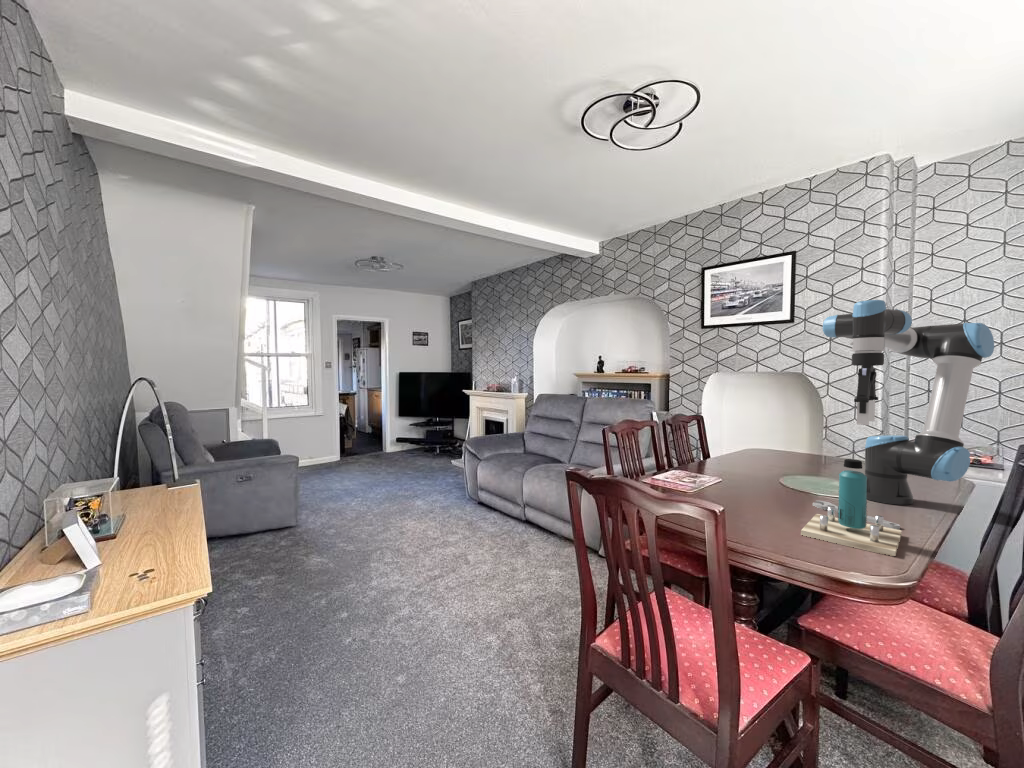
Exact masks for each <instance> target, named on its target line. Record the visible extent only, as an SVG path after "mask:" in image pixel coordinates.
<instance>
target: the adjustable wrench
mask: <svg viewBox="0 0 1024 768" xmlns="http://www.w3.org/2000/svg"><path fill="white" fill-rule="evenodd" d="M813 506H815V507H817V509H818V508H821V509H820V510H822V509H824V510H823V511H828V507H834V508H835V511H836V512H835V513H838V506H839V505H836V504H834V503H831V502H829V501H825V500H815V502H812V507H813ZM815 507H814V508H815ZM866 515H867V516H866V522H869V523H873V524H875V516H870V515H868V514H866ZM883 527H886V528H892V529H897V530H901V525H900V524H899V523H895V522H891V521H888V520H885V519H884V521H883Z"/></svg>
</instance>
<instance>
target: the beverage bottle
mask: <svg viewBox="0 0 1024 768" xmlns="http://www.w3.org/2000/svg"><path fill="white" fill-rule="evenodd" d="M843 467H844V468H848V469H856V470H858V469H859V470H860V469H863V461H862V460H859V459H855V458H854V459H851V458H845V459H844V462H843ZM856 470H842V471H841V472H839V474H838V476H839V477H838V480H839V481H838V490H837V492H838V501H837V502H838V505H837V506H838V512H837V518H838V522H839V524H841V525H843V526H846V527H850V528H856V529H864V528H865V527H866V524H867V521H866V516H867V515H868V514H867V512H868V510H867V506H868V499H867V497H866V495H867V477H866V476H865V473H863V472H862V471H856Z"/></svg>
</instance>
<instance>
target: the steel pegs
mask: <svg viewBox="0 0 1024 768" xmlns="http://www.w3.org/2000/svg"><path fill="white" fill-rule="evenodd" d="M835 517H836V512H835V508H834V507H828V510H827V515H825V514H820V530H821V531H828V521H831V522H835ZM874 517H875V523H874V524H871V525H870V541H872V542H876V543H878V542H879V531H880V532H883V527H884V526H883V521H884V520H885V518H884V516H883V515H879V514H877V515H875V516H874Z"/></svg>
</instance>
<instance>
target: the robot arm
mask: <svg viewBox="0 0 1024 768" xmlns="http://www.w3.org/2000/svg"><path fill="white" fill-rule="evenodd" d="M912 324H913V319H912V315H910V313H908V312H907V311H906V310H905V311H904V310H901V309H898V308H896V309H895V308H894V309H892V308H891V309H890V308H887V305H886V301H885V300H882V299H869V300H861V301H857V302H856V303H854V304H853V309H852V313H845V314H836V315H831V316H827V317H826V318H825V319H824V320H823V322H822V331H823V334H824V336H826V337H827V338H835V339H837V338H845V339H851V340H852V341H850V342H849V346H851V347H852V348H851V350H852V352H853V353H852V354H851V365H852V366H854V367H855V366H856V367H857V366H859V367H860V368H859V369H858V371H857V377H858V378H857V392H856V397H855V398H854V399H853V401H854V403H856V425H860V426H862V425H863V426H870V422H875V419H876V417H875V416H876V415H875V414H876V401H878V400H879V397H878V396H877V395H876V392H877V391H876V381H877V379H876V378H877V370H876V368H874V366H883V365H884V364H885V354H884V352H883V351H885V348H887V349H888V350H889V351H891V352H893V353H897V354H900V355H905V356H909V357H914V358H921V359H932V362H933V363H934V364H936V365H937V366H936V371H935V375H934V378H933V379H934V380H933V383H932V389H931V393H930V396H929V397H930V398H929V402H928V405H927V406H928V407H927V411H926V414H925V420H924V423H923V424H924V425H923V430H922V431H921V432H919V433H917V434H915V438H914V440H910V439H909V436H907V435H899V434H898V435H897V434H896V435H895V434H894V435H892V434H890V435H888V434H887V435H885V434H884V435H871V436H868V437H867V438H866V440H865V447H864V449H865V450H864V453H865V455H864V475H865V476H866V477H867V495H866V497H867V501H872V502H876V503H881V504H888V505H900V506H901V505H902V506H905V505H912V504H913V503H914V495H913V492H912V490H911V488H910V485H909V482H908V475H910V476H915V477H921V478H927V479H933V480H935V481H942V482H956V481H958V480H960V479H962V478H963V477H964V476H965V475H966V473H967V472H968V469H969V467H970V464H971V458H970V457H971V452H970V451H969V449H968V448H966V447H964V445H965V443H964V441H963V440H961V439H960V438H959V437H960V436H959V435H960V431H961V427H962V423H963V417H964V412H965V408H966V403H967V400H968V395H969V391H970V387H971V380H972V377H973V370H974V369H975V368H977V367H978V366H981V364H982V361H983V358H984V359H987V358H989V357H991V356H992V355H993V353H994V351H995V340H994V336H993V333H992V330H991V329H990V327H988V326H987V324H985V323H983V322H964V323H963V322H962V323H949V324H937V325H925V326H924V325H923V326H916V327H914V326H913V327H911V326H912Z"/></svg>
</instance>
